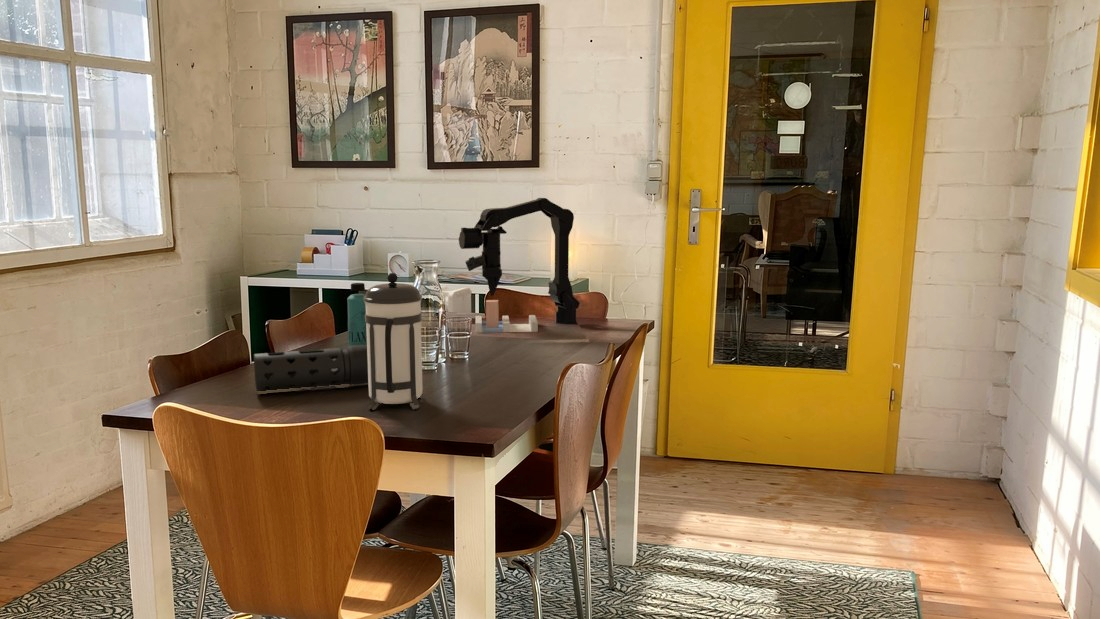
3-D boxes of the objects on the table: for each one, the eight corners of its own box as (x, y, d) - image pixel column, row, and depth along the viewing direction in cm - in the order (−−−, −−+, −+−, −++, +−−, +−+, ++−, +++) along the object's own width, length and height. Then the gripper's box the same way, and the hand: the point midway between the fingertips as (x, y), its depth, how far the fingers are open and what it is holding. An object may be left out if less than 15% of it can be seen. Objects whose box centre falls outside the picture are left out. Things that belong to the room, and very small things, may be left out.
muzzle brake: (255, 391, 207) (253, 349, 205) (372, 381, 217) (370, 340, 215) (256, 400, 198) (254, 357, 197) (378, 390, 208) (377, 348, 206)
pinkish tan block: (498, 326, 285) (498, 299, 283) (498, 328, 281) (498, 301, 280) (486, 326, 285) (486, 300, 283) (486, 329, 281) (486, 301, 279)
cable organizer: (446, 316, 311) (445, 285, 309) (472, 318, 308) (472, 286, 306) (426, 323, 297) (426, 290, 295) (454, 325, 294) (453, 292, 292)
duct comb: (534, 326, 291) (534, 315, 290) (537, 334, 277) (537, 322, 277) (475, 327, 289) (475, 315, 289) (475, 335, 276) (475, 323, 275)
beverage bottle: (344, 352, 251) (341, 284, 248) (354, 347, 257) (352, 281, 254) (364, 353, 249) (362, 284, 246) (374, 348, 256) (372, 281, 252)
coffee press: (345, 405, 194) (340, 273, 189) (404, 392, 205) (400, 267, 200) (389, 420, 182) (384, 280, 177) (449, 406, 193) (446, 274, 188)
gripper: (467, 245, 287) (467, 291, 290) (466, 250, 269) (466, 300, 271) (500, 245, 288) (500, 291, 290) (501, 250, 270) (502, 299, 272)
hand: (492, 295), depth 281 cm, fingers closed
